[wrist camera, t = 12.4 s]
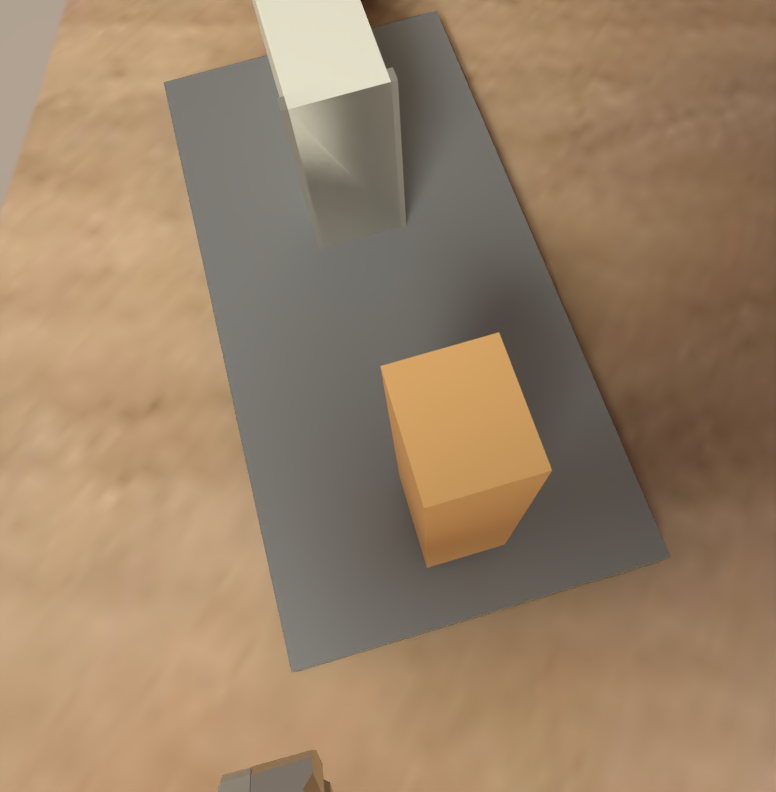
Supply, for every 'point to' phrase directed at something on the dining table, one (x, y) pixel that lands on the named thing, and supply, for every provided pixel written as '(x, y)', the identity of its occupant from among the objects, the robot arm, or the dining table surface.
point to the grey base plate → (382, 324)
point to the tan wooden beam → (463, 446)
